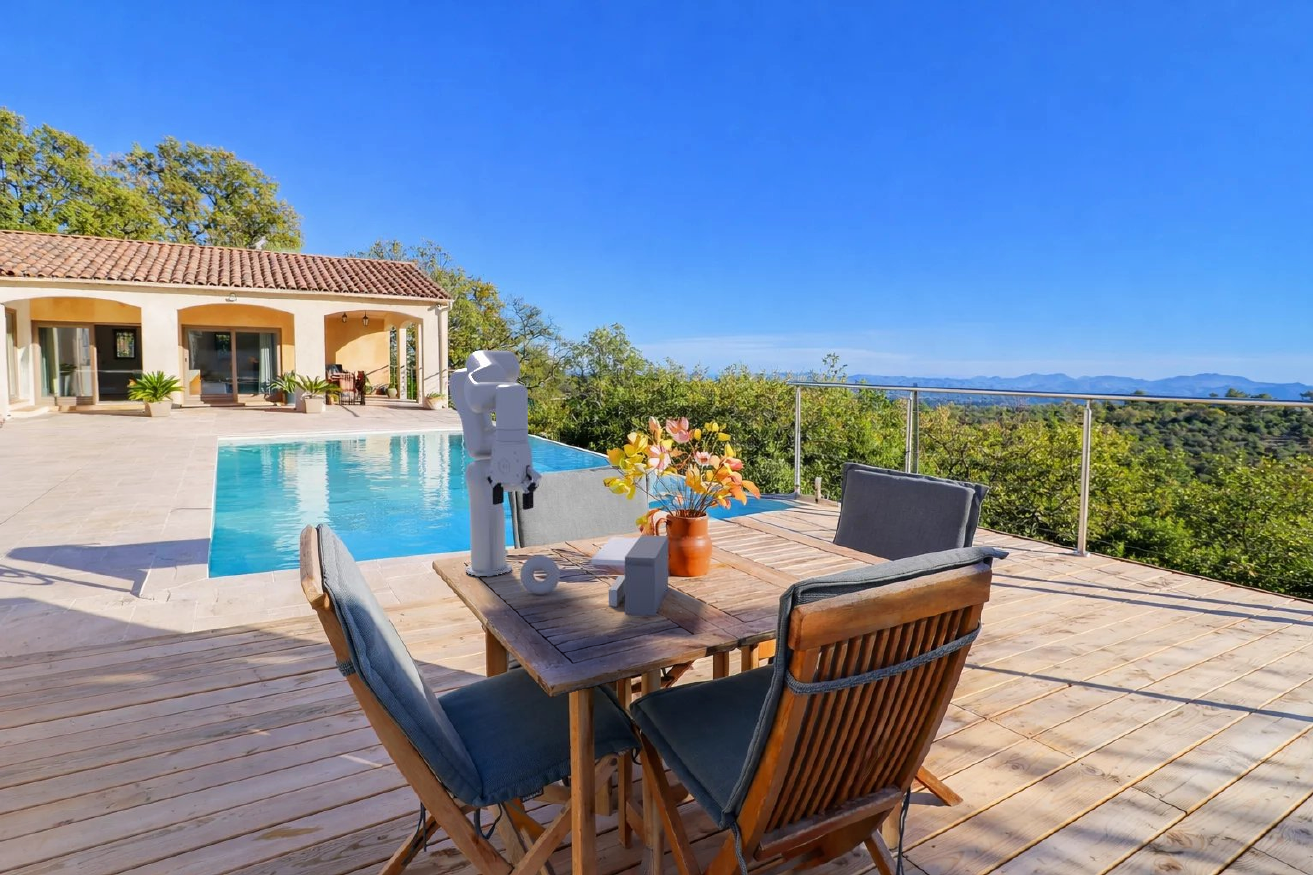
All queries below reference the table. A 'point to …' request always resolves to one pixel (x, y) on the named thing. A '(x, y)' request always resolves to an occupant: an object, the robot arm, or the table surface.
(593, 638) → the table surface
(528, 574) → the donut
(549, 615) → the table surface
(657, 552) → the ledge cabinet
